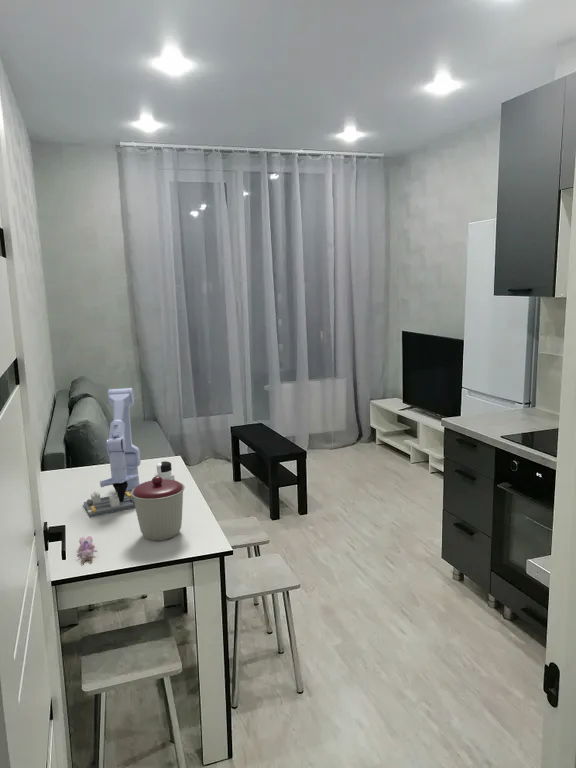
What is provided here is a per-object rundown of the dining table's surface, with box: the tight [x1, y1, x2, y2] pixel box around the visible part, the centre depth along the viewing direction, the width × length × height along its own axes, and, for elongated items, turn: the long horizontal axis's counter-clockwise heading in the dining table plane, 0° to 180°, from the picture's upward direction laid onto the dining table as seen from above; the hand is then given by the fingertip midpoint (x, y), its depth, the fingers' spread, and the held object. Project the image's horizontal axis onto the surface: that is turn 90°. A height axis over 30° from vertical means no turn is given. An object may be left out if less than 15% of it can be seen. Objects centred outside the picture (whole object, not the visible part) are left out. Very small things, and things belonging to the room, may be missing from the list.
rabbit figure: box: [76, 535, 98, 565], centre depth 191 cm, size 6×6×15 cm
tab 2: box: [109, 494, 120, 507], centre depth 228 cm, size 4×3×4 cm
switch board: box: [83, 491, 136, 518], centre depth 232 cm, size 15×20×2 cm
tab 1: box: [90, 491, 102, 504], centre depth 233 cm, size 4×3×4 cm
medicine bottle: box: [154, 460, 176, 481], centre depth 247 cm, size 7×7×12 cm
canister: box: [130, 475, 186, 541], centre depth 202 cm, size 18×18×21 cm
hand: (121, 500), depth 230 cm, fingers closed
